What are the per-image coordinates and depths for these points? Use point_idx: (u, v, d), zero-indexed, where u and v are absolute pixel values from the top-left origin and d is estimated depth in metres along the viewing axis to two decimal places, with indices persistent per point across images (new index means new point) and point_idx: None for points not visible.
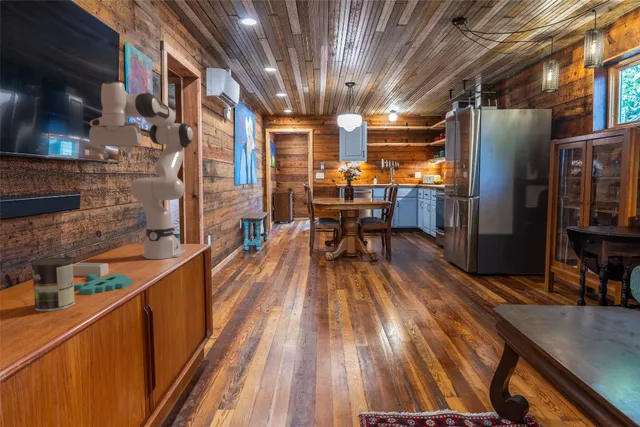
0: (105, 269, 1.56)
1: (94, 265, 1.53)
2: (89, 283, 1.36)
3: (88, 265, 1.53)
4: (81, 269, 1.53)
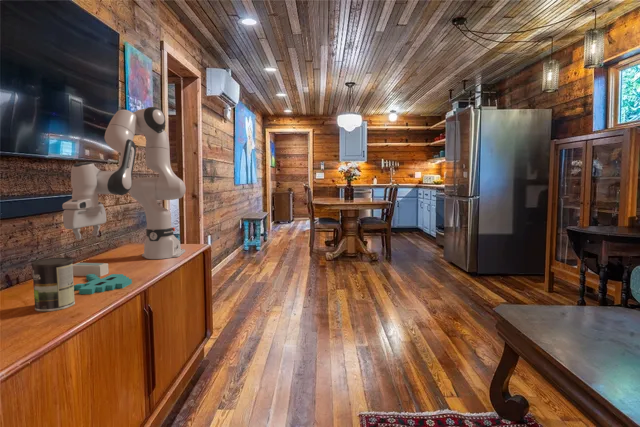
0: (105, 269, 1.55)
1: (94, 265, 1.53)
2: (89, 283, 1.36)
3: (88, 265, 1.53)
4: (81, 269, 1.53)
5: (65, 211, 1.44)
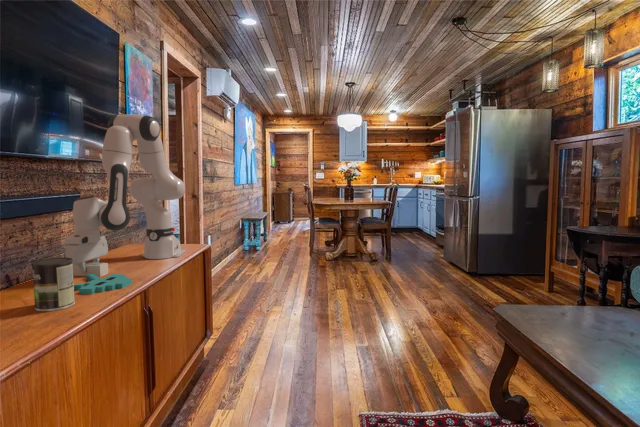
0: (105, 269, 1.55)
1: (94, 265, 1.53)
2: (89, 283, 1.36)
3: (88, 265, 1.53)
4: None
5: (67, 247, 1.46)
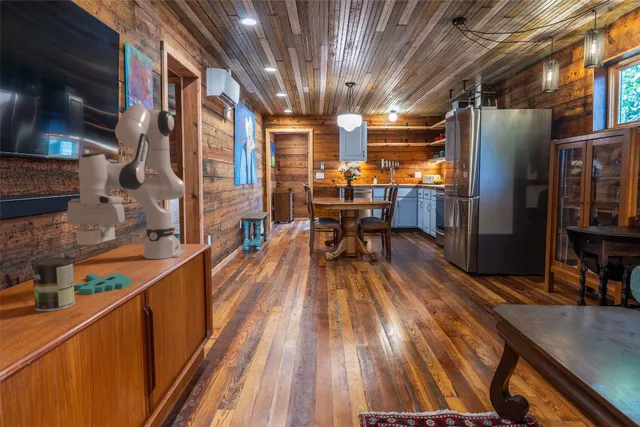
0: None
1: None
2: (89, 283, 1.36)
3: (102, 229, 1.38)
4: (100, 233, 1.36)
5: (115, 205, 1.34)
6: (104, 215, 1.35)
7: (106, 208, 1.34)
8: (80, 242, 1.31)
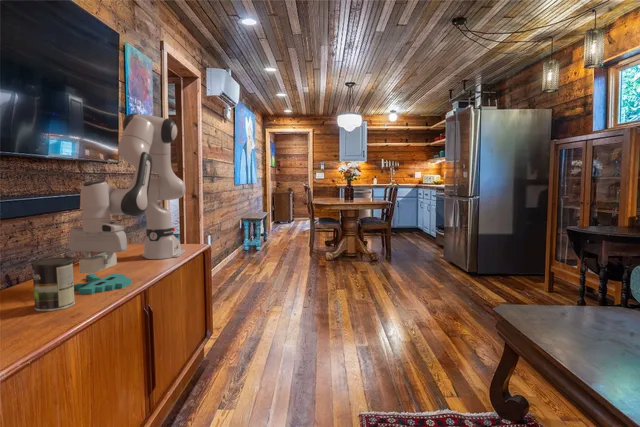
0: None
1: None
2: (89, 283, 1.36)
3: (104, 255, 1.39)
4: (102, 261, 1.37)
5: (118, 234, 1.35)
6: (107, 243, 1.36)
7: (108, 236, 1.35)
8: (83, 270, 1.32)
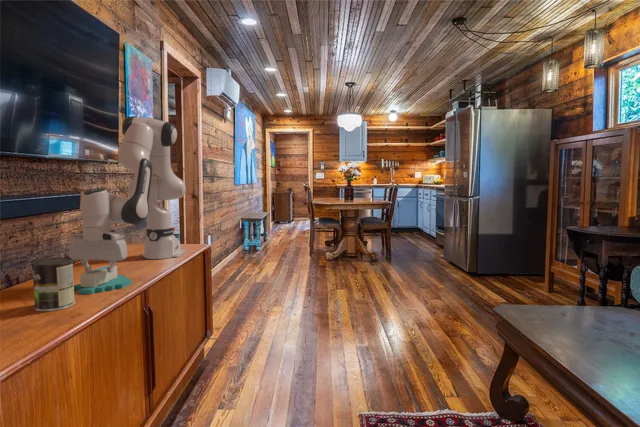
0: None
1: None
2: None
3: (105, 269, 1.39)
4: (103, 275, 1.37)
5: (118, 242, 1.35)
6: (107, 251, 1.36)
7: (109, 244, 1.35)
8: (84, 284, 1.33)
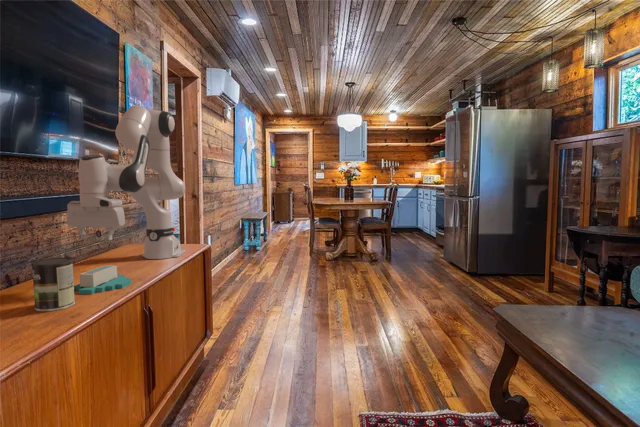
0: None
1: (109, 267, 1.42)
2: None
3: (105, 269, 1.39)
4: (102, 274, 1.37)
5: (116, 209, 1.34)
6: (104, 218, 1.35)
7: (106, 211, 1.34)
8: (83, 284, 1.33)
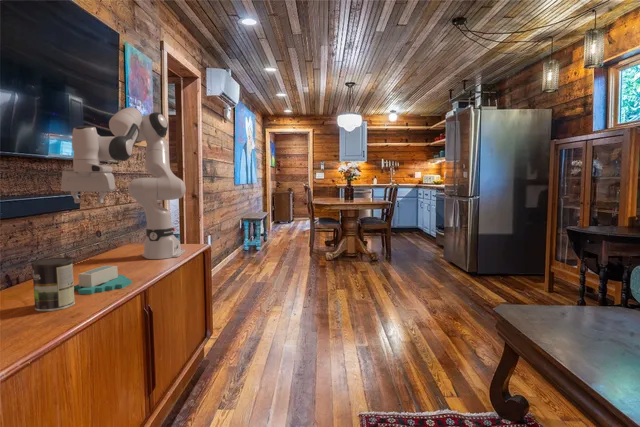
0: None
1: (109, 267, 1.42)
2: None
3: (104, 269, 1.39)
4: (102, 275, 1.37)
5: (106, 174, 1.47)
6: (96, 183, 1.48)
7: (97, 176, 1.47)
8: (82, 284, 1.33)
